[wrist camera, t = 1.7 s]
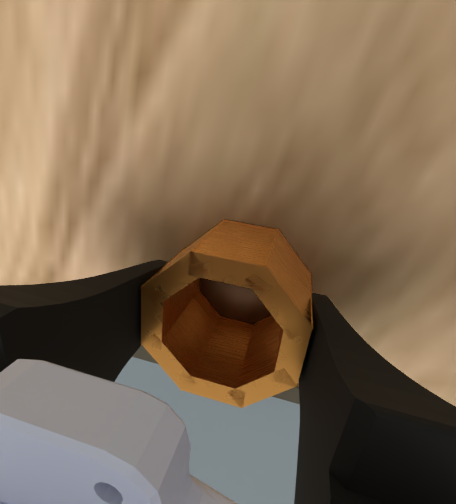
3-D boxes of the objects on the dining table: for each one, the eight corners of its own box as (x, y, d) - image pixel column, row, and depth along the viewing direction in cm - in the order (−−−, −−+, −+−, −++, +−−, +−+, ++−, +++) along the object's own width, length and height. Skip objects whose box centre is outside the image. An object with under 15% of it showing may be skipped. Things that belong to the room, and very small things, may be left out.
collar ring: (320, 236, 12) (326, 278, 8) (292, 348, 14) (288, 422, 10) (187, 212, 13) (140, 240, 9) (180, 320, 15) (140, 378, 11)
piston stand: (372, 407, 14) (414, 578, 8) (315, 546, 18) (319, 716, 13) (47, 318, 17) (-72, 401, 12) (66, 454, 22) (-14, 559, 16)
